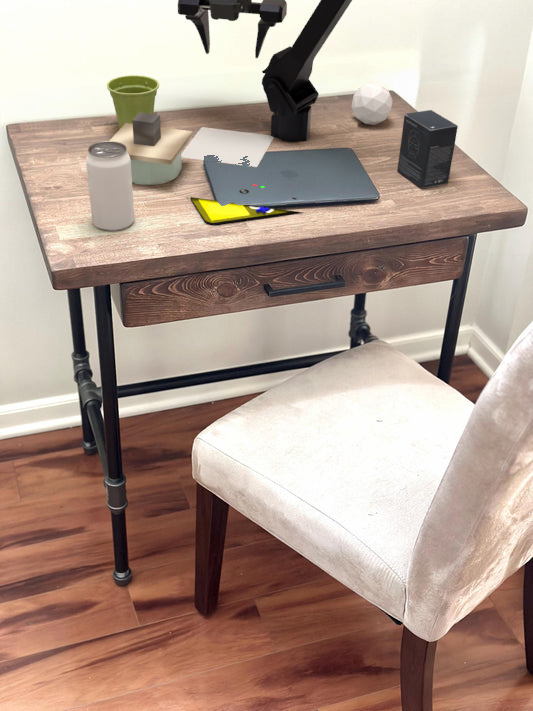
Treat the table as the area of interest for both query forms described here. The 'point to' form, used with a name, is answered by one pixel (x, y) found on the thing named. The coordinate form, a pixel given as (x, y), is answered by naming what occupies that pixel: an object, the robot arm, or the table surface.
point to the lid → (151, 139)
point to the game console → (234, 211)
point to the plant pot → (132, 96)
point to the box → (427, 148)
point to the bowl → (154, 171)
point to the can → (110, 186)
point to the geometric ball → (372, 103)
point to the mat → (228, 146)
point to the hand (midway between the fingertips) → (232, 55)
